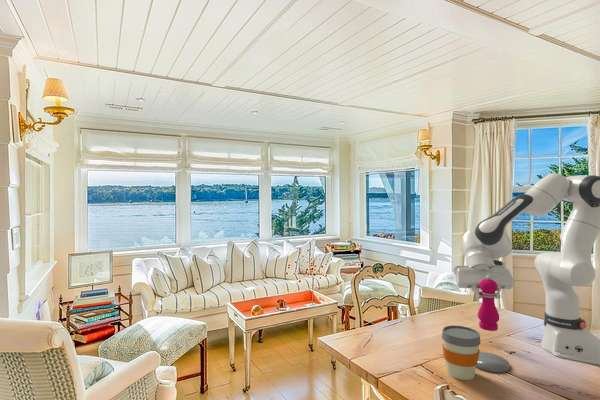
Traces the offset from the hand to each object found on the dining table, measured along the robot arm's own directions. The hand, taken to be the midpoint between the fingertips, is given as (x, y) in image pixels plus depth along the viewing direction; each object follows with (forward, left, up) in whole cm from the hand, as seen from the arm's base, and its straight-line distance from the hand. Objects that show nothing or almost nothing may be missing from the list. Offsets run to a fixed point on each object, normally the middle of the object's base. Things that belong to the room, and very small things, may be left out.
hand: (489, 297), depth 132 cm
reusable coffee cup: (+5, +14, -25) cm, 30 cm away
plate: (0, 0, -25) cm, 25 cm away
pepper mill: (0, -1, -12) cm, 12 cm away
